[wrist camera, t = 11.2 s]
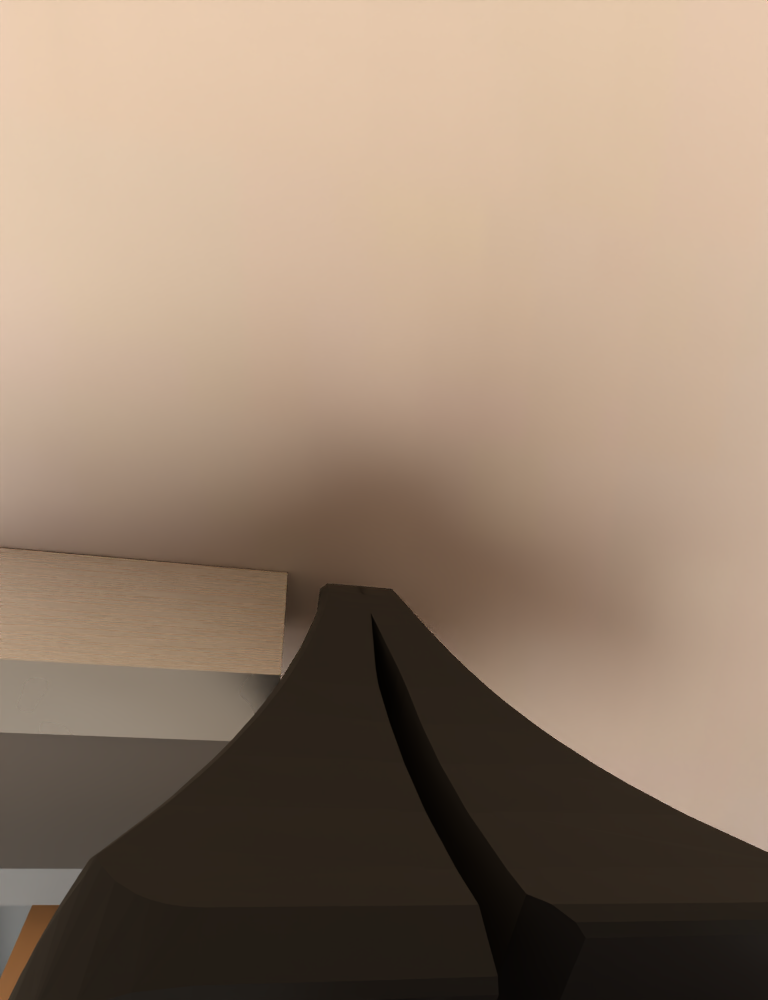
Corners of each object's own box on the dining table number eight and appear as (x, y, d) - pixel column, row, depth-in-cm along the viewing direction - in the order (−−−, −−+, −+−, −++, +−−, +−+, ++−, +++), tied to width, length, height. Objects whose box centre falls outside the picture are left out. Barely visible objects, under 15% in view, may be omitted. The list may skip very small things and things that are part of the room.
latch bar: (287, 572, 11) (280, 675, 8) (280, 627, 11) (272, 743, 9) (-70, 541, 10) (-216, 646, 7) (-62, 603, 10) (-199, 725, 8)
